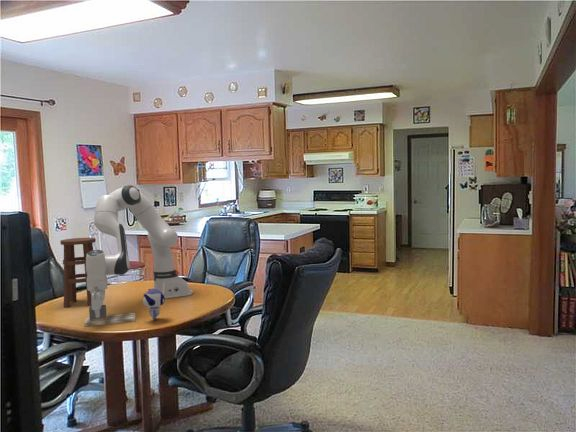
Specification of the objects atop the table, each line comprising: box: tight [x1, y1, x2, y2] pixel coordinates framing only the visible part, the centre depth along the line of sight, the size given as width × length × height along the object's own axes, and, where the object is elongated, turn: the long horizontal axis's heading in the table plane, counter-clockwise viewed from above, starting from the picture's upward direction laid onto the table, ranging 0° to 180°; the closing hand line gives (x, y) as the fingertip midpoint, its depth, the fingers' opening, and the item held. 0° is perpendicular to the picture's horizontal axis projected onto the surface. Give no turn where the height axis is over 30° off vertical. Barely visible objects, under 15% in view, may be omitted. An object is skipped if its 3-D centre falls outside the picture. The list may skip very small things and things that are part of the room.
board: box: [83, 312, 137, 327], centre depth 225 cm, size 22×10×2 cm, turn 106°
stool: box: [59, 237, 96, 309], centre depth 259 cm, size 20×35×20 cm
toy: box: [142, 288, 166, 321], centre depth 223 cm, size 11×10×15 cm
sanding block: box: [88, 304, 108, 321], centre depth 223 cm, size 7×4×6 cm, turn 106°
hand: (99, 314), depth 223 cm, fingers open, 8 cm apart
